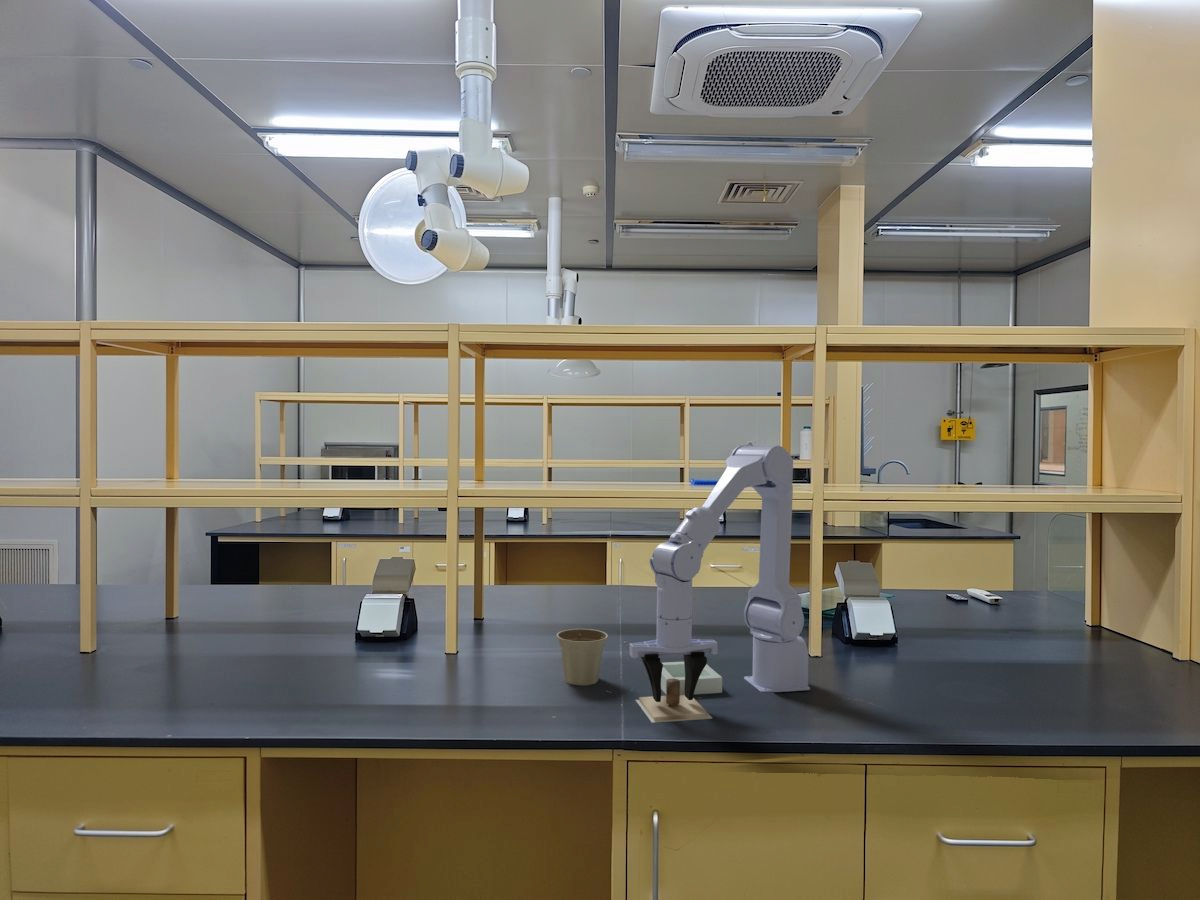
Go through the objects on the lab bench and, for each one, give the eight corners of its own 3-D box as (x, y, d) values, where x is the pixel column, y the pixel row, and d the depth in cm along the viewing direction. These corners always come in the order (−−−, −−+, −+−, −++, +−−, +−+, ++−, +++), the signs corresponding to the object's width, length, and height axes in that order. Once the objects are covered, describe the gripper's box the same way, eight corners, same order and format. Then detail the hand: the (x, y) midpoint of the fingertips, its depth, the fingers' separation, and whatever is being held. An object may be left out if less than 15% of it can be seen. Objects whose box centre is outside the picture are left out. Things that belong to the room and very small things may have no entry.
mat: (691, 698, 122) (691, 696, 122) (712, 720, 113) (712, 718, 113) (635, 702, 120) (635, 699, 120) (651, 725, 110) (652, 722, 110)
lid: (689, 697, 122) (690, 670, 122) (708, 717, 113) (709, 688, 113) (638, 700, 120) (639, 673, 120) (654, 721, 111) (654, 691, 111)
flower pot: (579, 670, 137) (579, 625, 137) (617, 681, 131) (618, 634, 131) (545, 682, 130) (545, 635, 130) (584, 694, 124) (585, 644, 124)
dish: (701, 678, 134) (702, 660, 134) (722, 696, 125) (722, 677, 125) (651, 681, 132) (651, 663, 132) (667, 700, 122) (667, 680, 122)
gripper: (707, 609, 122) (706, 688, 122) (625, 612, 119) (623, 693, 119) (722, 618, 115) (721, 702, 115) (636, 622, 112) (634, 708, 112)
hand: (672, 699), depth 116 cm, fingers open, 5 cm apart
